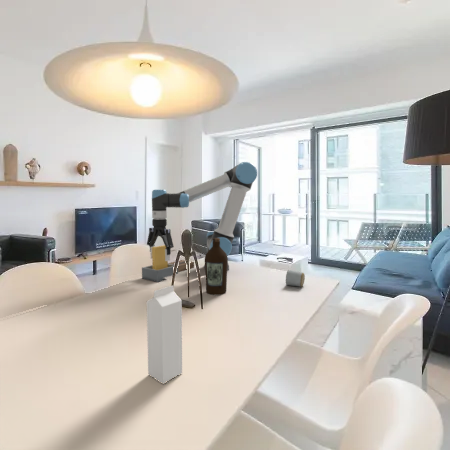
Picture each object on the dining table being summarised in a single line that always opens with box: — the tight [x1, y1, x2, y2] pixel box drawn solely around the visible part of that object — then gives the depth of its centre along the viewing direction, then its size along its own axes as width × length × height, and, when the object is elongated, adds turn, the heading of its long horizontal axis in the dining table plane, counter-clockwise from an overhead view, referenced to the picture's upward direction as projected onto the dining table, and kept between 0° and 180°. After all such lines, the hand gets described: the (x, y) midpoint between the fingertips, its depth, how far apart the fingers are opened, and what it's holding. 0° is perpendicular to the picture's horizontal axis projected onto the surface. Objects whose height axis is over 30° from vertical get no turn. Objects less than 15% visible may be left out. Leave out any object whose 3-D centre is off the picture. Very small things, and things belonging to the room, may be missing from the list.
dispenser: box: [168, 259, 195, 273], centre depth 178 cm, size 10×14×6 cm
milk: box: [146, 285, 183, 383], centre depth 74 cm, size 6×6×22 cm
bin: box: [141, 264, 179, 283], centre depth 164 cm, size 12×15×6 cm
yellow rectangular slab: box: [151, 244, 169, 270], centre depth 164 cm, size 2×9×16 cm, turn 146°
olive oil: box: [204, 238, 229, 296], centre depth 139 cm, size 11×11×25 cm
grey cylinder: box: [285, 269, 306, 288], centre depth 152 cm, size 11×8×8 cm
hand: (160, 259), depth 164 cm, fingers open, 10 cm apart
